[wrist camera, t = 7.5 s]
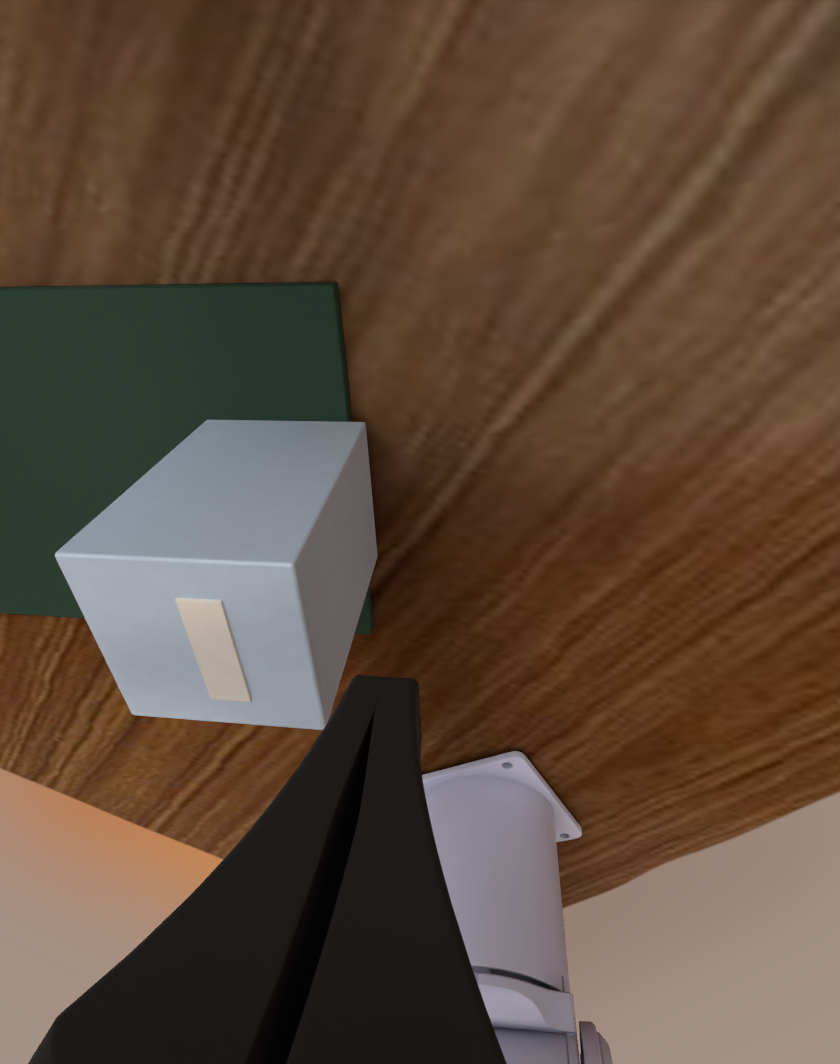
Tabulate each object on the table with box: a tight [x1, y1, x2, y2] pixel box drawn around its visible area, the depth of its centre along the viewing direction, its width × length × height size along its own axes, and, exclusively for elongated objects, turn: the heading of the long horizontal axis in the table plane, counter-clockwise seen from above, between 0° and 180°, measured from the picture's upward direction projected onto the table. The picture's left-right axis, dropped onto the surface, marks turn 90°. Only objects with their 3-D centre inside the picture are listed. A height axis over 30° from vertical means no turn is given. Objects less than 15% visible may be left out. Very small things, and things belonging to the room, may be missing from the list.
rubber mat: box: [0, 282, 374, 634], centre depth 21 cm, size 20×14×1 cm
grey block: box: [55, 420, 378, 730], centre depth 17 cm, size 8×6×6 cm
